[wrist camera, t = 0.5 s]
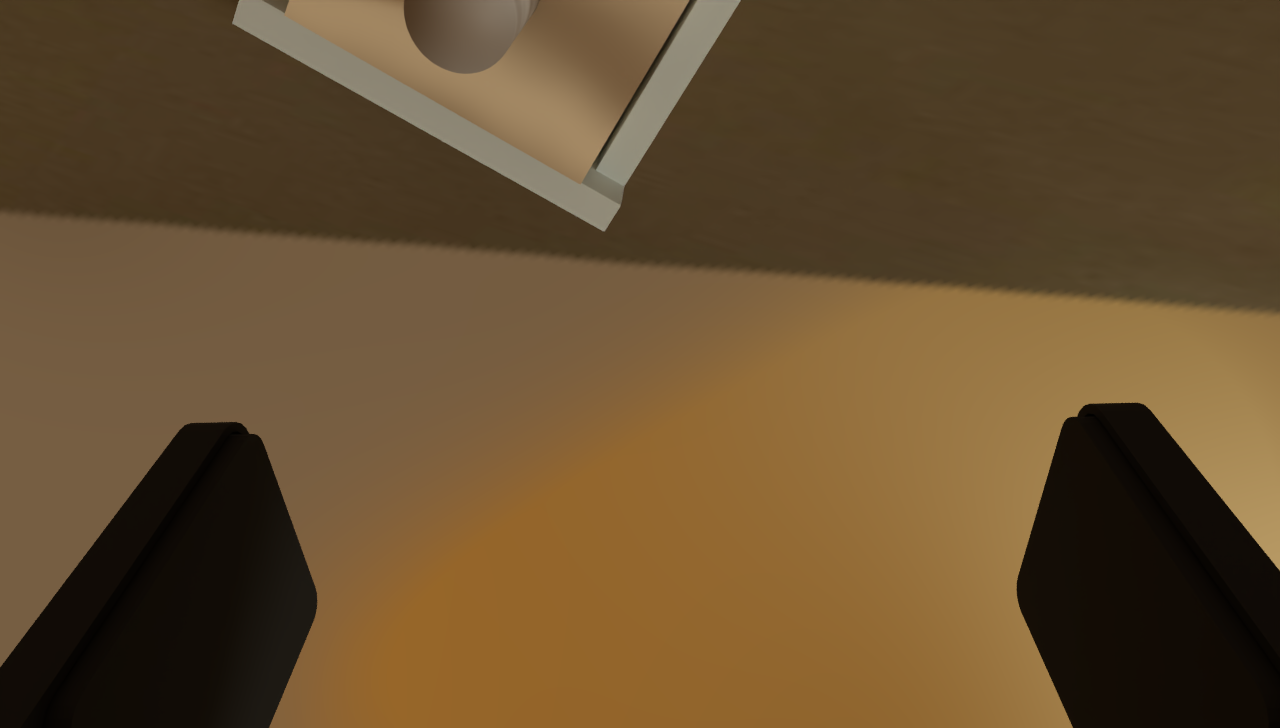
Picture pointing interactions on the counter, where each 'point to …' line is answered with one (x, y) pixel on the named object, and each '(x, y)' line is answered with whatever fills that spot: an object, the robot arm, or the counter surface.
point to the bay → (587, 200)
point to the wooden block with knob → (510, 61)
